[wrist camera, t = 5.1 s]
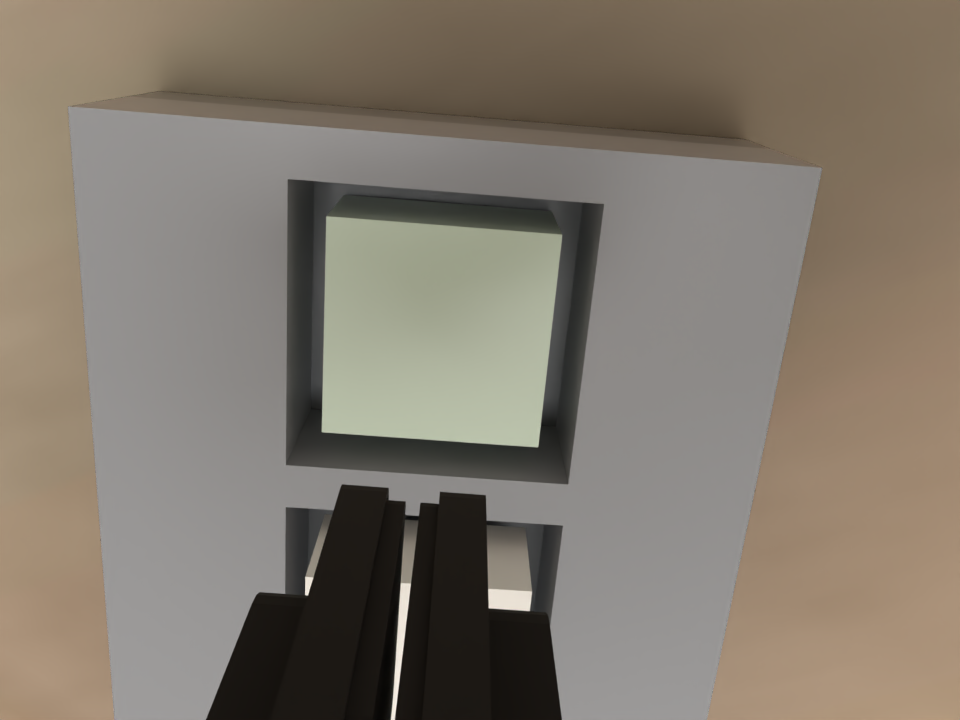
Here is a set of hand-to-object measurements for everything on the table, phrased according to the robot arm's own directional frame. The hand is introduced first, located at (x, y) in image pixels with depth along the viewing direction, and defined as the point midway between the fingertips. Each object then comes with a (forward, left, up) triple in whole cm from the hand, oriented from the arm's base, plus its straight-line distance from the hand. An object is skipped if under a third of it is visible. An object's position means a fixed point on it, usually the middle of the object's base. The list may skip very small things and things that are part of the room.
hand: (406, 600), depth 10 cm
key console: (0, +7, -13) cm, 15 cm away
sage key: (0, 0, -11) cm, 11 cm away
